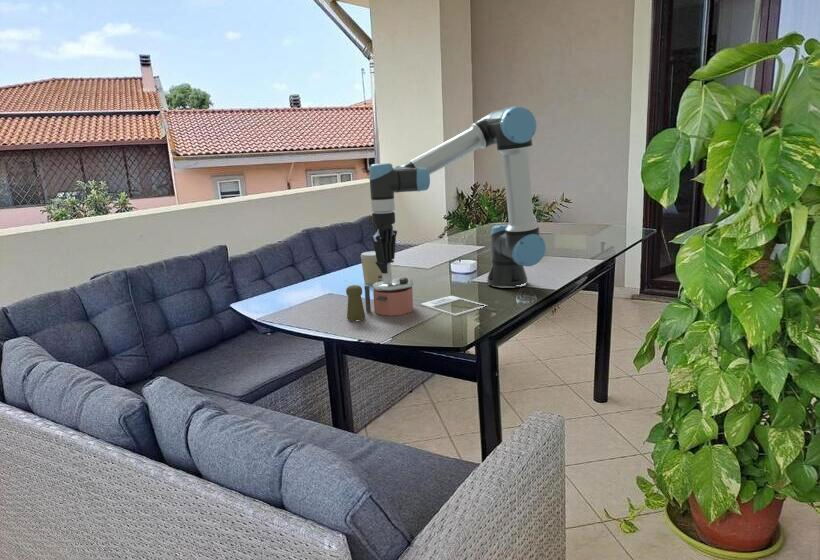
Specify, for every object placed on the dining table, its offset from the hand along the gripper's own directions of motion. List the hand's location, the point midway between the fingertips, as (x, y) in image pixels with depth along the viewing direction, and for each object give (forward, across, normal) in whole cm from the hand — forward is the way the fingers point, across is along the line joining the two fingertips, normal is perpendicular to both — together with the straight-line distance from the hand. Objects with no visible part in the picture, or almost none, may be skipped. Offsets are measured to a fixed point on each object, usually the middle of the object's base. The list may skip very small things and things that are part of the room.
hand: (387, 282), depth 192 cm
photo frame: (+10, -11, +19) cm, 24 cm away
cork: (+10, +12, -5) cm, 17 cm away
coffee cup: (+10, -31, -25) cm, 41 cm away
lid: (+1, 0, +2) cm, 3 cm away
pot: (+10, 0, +2) cm, 10 cm away
